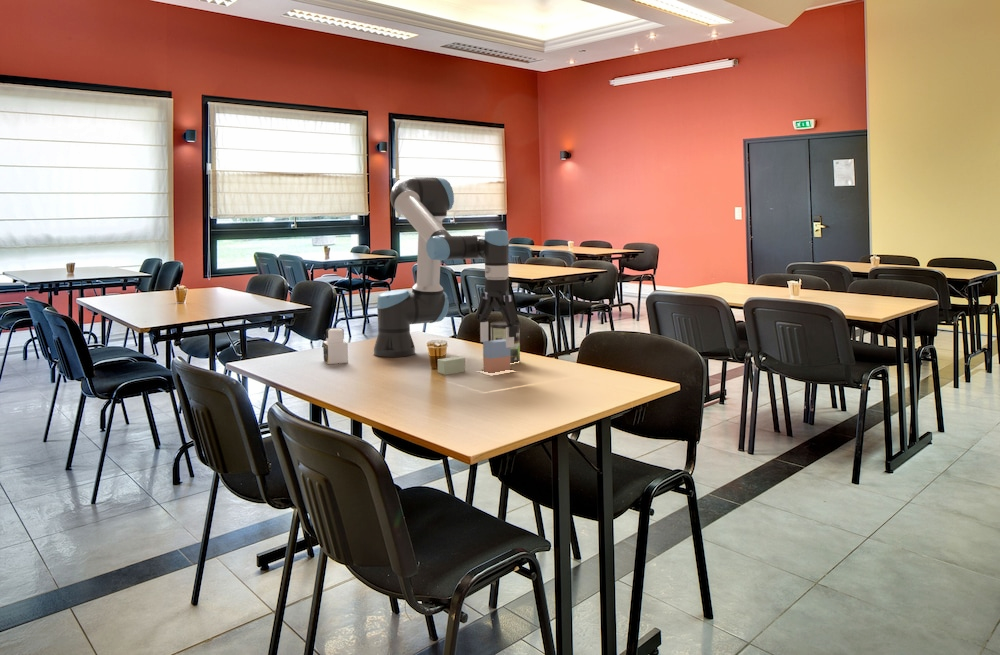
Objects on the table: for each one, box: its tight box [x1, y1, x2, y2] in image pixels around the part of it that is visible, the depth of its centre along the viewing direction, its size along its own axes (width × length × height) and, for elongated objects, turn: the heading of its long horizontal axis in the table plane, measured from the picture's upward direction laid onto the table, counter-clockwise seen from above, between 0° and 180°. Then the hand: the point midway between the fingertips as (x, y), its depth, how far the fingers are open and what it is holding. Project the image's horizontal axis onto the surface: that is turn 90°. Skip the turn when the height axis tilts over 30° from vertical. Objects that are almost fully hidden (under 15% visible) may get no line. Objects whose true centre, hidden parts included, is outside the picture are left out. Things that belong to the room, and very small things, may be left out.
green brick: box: [437, 356, 466, 375], centre depth 237 cm, size 8×4×5 cm, turn 127°
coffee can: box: [489, 320, 521, 363], centre depth 253 cm, size 10×10×14 cm
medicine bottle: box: [322, 327, 349, 365], centre depth 257 cm, size 7×7×12 cm
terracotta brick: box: [482, 356, 511, 373], centre depth 238 cm, size 8×4×5 cm, turn 127°
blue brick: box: [482, 339, 510, 359], centre depth 237 cm, size 8×4×5 cm, turn 126°
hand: (496, 344), depth 237 cm, fingers open, 13 cm apart
